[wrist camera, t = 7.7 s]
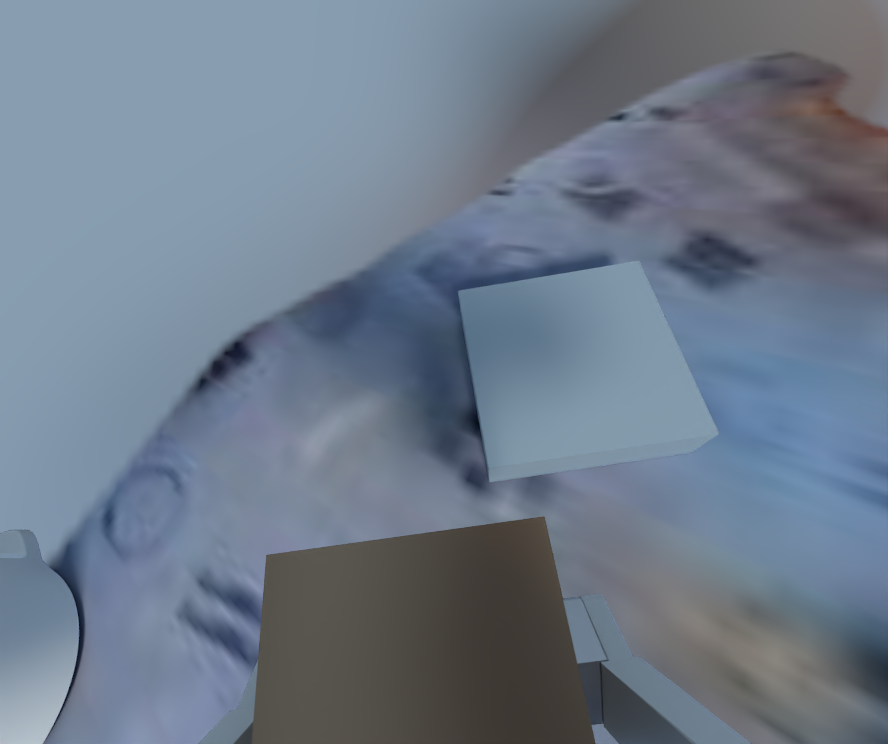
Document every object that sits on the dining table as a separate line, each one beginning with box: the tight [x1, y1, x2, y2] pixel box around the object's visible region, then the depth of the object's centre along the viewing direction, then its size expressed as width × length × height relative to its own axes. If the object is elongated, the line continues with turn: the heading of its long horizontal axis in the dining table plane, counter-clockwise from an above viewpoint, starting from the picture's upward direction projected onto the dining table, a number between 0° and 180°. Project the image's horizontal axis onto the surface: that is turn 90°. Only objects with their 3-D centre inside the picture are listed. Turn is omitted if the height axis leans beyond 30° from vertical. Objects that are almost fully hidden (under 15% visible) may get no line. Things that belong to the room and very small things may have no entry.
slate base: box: [458, 261, 719, 482], centre depth 30 cm, size 14×14×4 cm
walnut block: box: [252, 517, 595, 744], centre depth 10 cm, size 5×5×10 cm
